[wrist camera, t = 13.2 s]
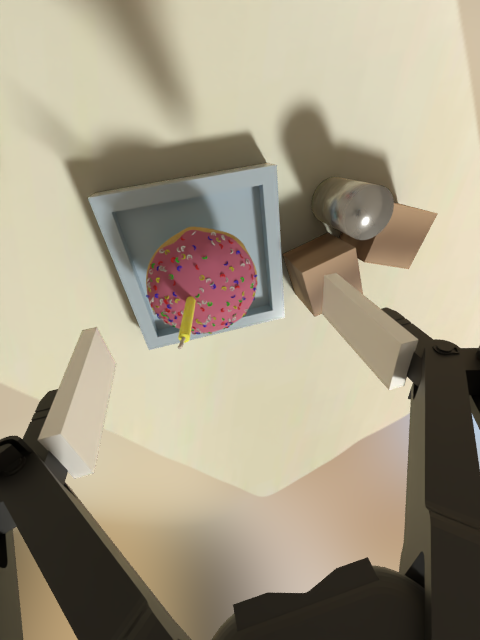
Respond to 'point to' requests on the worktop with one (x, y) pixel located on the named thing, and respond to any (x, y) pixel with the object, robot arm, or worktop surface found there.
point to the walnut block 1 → (321, 268)
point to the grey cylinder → (353, 206)
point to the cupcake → (201, 281)
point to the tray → (195, 211)
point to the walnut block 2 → (395, 238)
